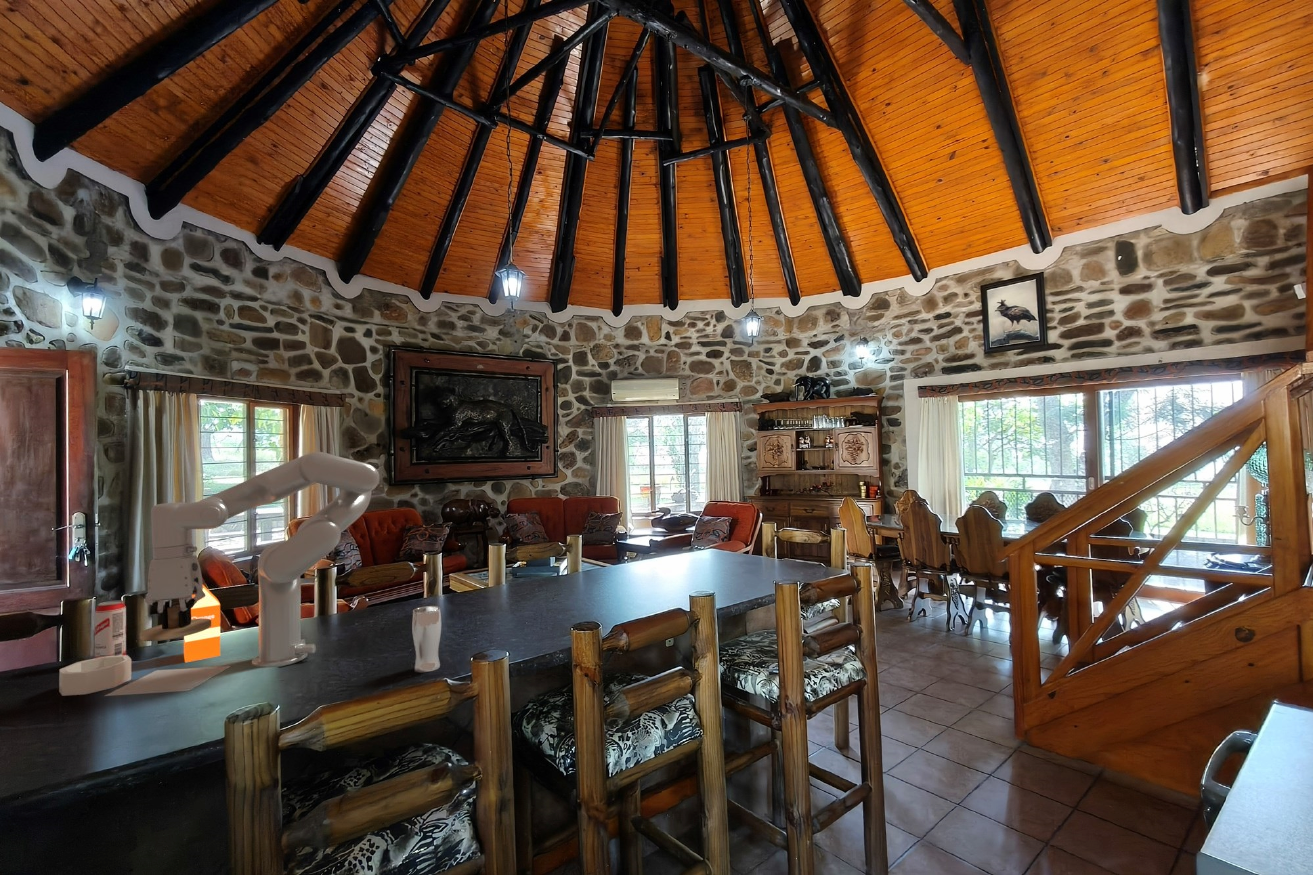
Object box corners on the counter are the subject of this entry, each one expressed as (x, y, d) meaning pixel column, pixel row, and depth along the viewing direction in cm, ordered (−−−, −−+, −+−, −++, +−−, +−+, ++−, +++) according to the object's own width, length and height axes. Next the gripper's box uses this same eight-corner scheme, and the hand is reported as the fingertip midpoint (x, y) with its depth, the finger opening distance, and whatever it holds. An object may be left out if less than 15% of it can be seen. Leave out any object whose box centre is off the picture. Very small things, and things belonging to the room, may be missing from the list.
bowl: (142, 676, 147) (142, 654, 147) (102, 695, 135) (102, 671, 135) (90, 679, 145) (90, 657, 146) (45, 698, 133) (45, 674, 134)
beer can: (106, 665, 155) (106, 605, 155) (88, 664, 156) (88, 605, 157) (131, 657, 161) (132, 600, 162) (114, 656, 162) (114, 599, 163)
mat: (231, 668, 151) (231, 665, 151) (188, 693, 135) (188, 690, 135) (156, 672, 149) (156, 670, 149) (104, 698, 133) (104, 695, 133)
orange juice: (184, 664, 154) (184, 589, 155) (183, 656, 161) (183, 584, 162) (221, 657, 160) (221, 584, 160) (218, 649, 166) (218, 580, 167)
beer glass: (447, 665, 149) (447, 607, 150) (426, 674, 143) (426, 613, 144) (427, 661, 152) (427, 604, 153) (406, 671, 146) (405, 611, 146)
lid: (223, 621, 150) (222, 597, 151) (187, 638, 137) (186, 612, 137) (167, 625, 149) (165, 601, 149) (124, 643, 135) (123, 617, 135)
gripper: (218, 547, 148) (221, 619, 148) (148, 552, 146) (152, 624, 146) (198, 553, 140) (202, 628, 140) (124, 558, 138) (128, 634, 138)
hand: (176, 625), depth 143 cm, fingers closed on lid, 3 cm apart
